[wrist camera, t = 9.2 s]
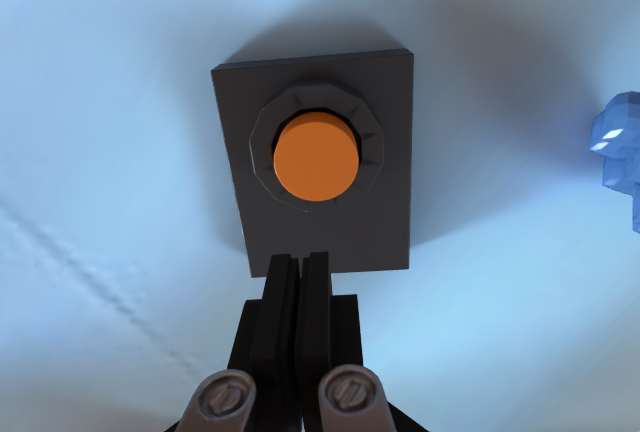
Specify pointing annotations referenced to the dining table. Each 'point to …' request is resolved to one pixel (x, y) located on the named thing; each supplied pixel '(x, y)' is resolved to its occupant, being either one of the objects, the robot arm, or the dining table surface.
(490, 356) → the dining table surface
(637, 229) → the grapes
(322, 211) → the button base
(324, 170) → the orange push button
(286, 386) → the robot arm
